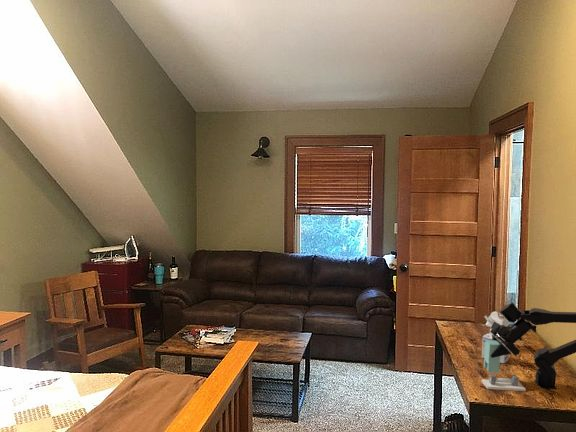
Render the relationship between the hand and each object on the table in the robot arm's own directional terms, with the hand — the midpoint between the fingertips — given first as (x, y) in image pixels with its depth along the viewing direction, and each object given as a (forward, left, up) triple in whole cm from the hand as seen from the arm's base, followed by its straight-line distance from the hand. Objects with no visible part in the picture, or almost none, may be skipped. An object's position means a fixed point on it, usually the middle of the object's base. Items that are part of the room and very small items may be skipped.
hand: (488, 354), depth 199 cm
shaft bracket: (-4, +7, -11) cm, 13 cm away
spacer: (-1, 0, -7) cm, 7 cm away
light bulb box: (-11, -23, -11) cm, 28 cm away
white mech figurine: (-18, -40, -11) cm, 46 cm away
